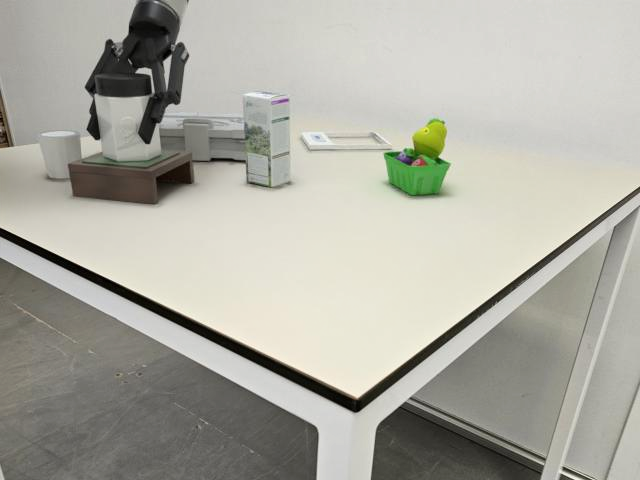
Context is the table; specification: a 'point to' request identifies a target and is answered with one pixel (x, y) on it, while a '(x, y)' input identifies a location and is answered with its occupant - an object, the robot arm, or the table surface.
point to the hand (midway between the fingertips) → (118, 136)
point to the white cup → (59, 151)
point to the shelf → (129, 176)
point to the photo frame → (323, 142)
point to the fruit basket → (420, 161)
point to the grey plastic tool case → (204, 135)
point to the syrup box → (267, 138)
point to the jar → (124, 116)
